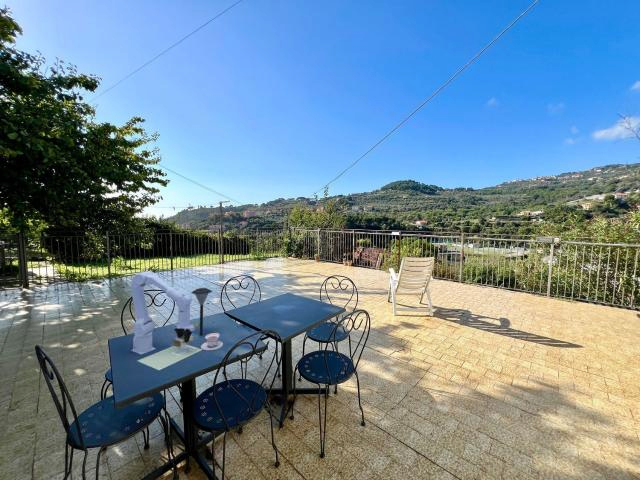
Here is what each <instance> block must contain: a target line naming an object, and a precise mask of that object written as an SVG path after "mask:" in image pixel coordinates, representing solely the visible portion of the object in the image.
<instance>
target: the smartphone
mask: <svg viewBox="0 0 640 480" xmlns="http://www.w3.org/2000/svg"><path fill="white" fill-rule="evenodd" d="M190 324H191V325H192V326H193V327H194V329H197V328H198V327H200V322H192V323H190ZM185 330H186V329H185Z"/></svg>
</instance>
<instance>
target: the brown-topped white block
mask: <svg viewBox="0 0 640 480" xmlns="http://www.w3.org/2000/svg"><path fill="white" fill-rule="evenodd" d="M172 342H173V343H172V346H176V347H181V346H183V345H185V344H187V345H189V343H192V342H194V336H193V335H191V336H190V339H189V342H187V343H185V341H184V335H183V337H180V338H178V337H177V338H176V339H173V341H172Z"/></svg>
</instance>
